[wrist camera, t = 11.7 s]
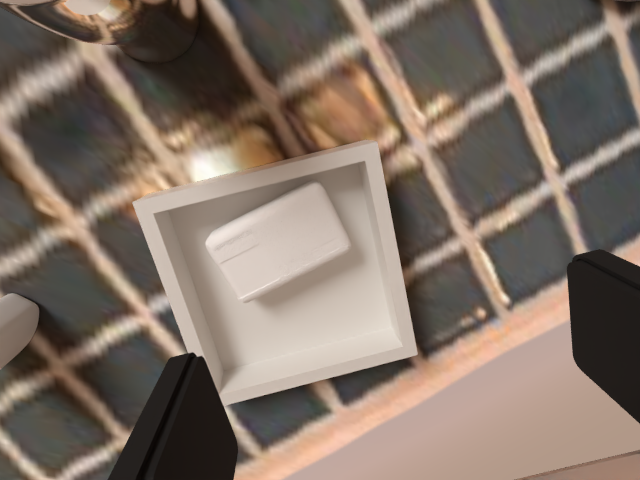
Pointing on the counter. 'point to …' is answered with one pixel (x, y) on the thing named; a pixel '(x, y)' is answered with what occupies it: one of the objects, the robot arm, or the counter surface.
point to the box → (295, 296)
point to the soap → (278, 241)
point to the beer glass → (117, 23)
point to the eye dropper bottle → (16, 325)
